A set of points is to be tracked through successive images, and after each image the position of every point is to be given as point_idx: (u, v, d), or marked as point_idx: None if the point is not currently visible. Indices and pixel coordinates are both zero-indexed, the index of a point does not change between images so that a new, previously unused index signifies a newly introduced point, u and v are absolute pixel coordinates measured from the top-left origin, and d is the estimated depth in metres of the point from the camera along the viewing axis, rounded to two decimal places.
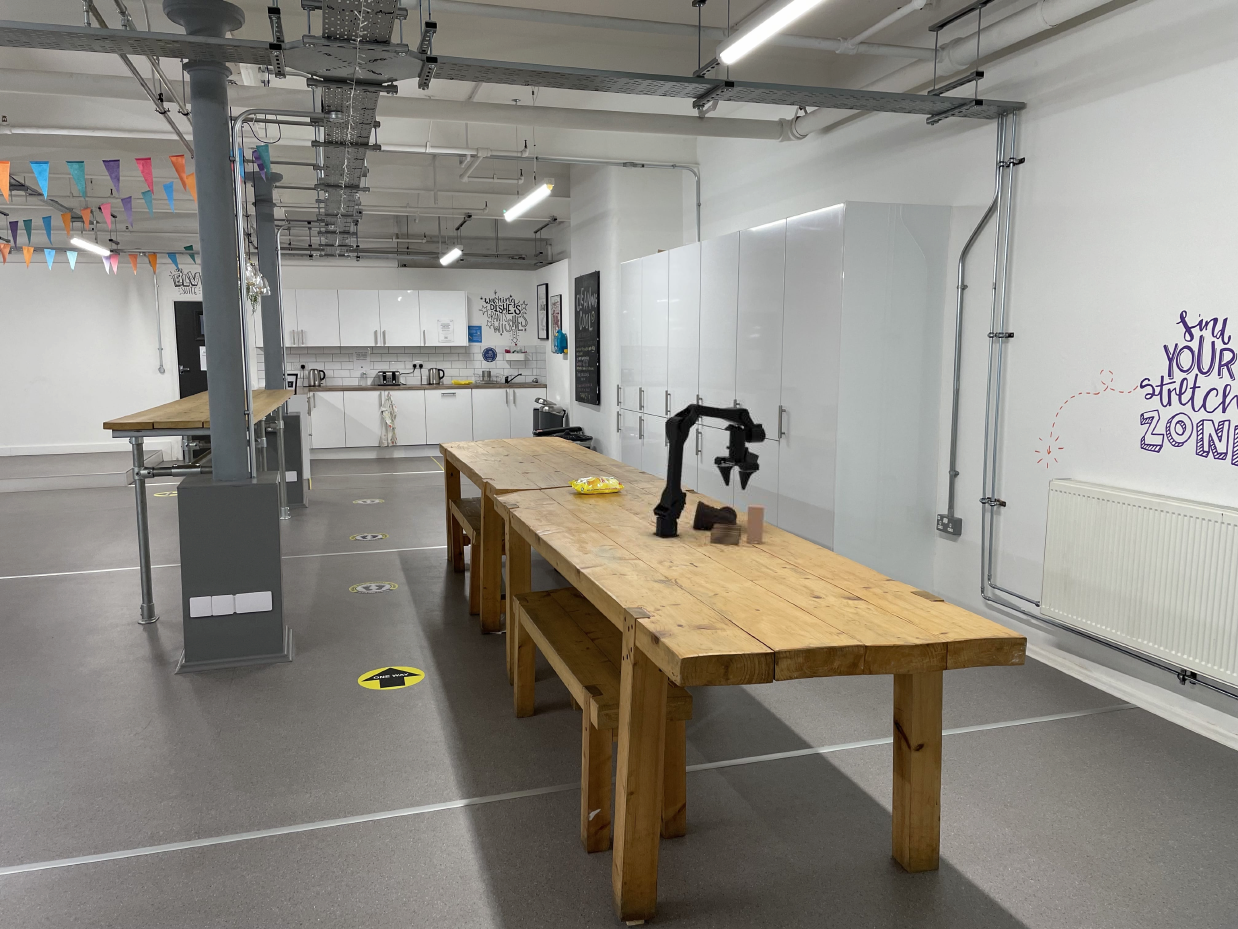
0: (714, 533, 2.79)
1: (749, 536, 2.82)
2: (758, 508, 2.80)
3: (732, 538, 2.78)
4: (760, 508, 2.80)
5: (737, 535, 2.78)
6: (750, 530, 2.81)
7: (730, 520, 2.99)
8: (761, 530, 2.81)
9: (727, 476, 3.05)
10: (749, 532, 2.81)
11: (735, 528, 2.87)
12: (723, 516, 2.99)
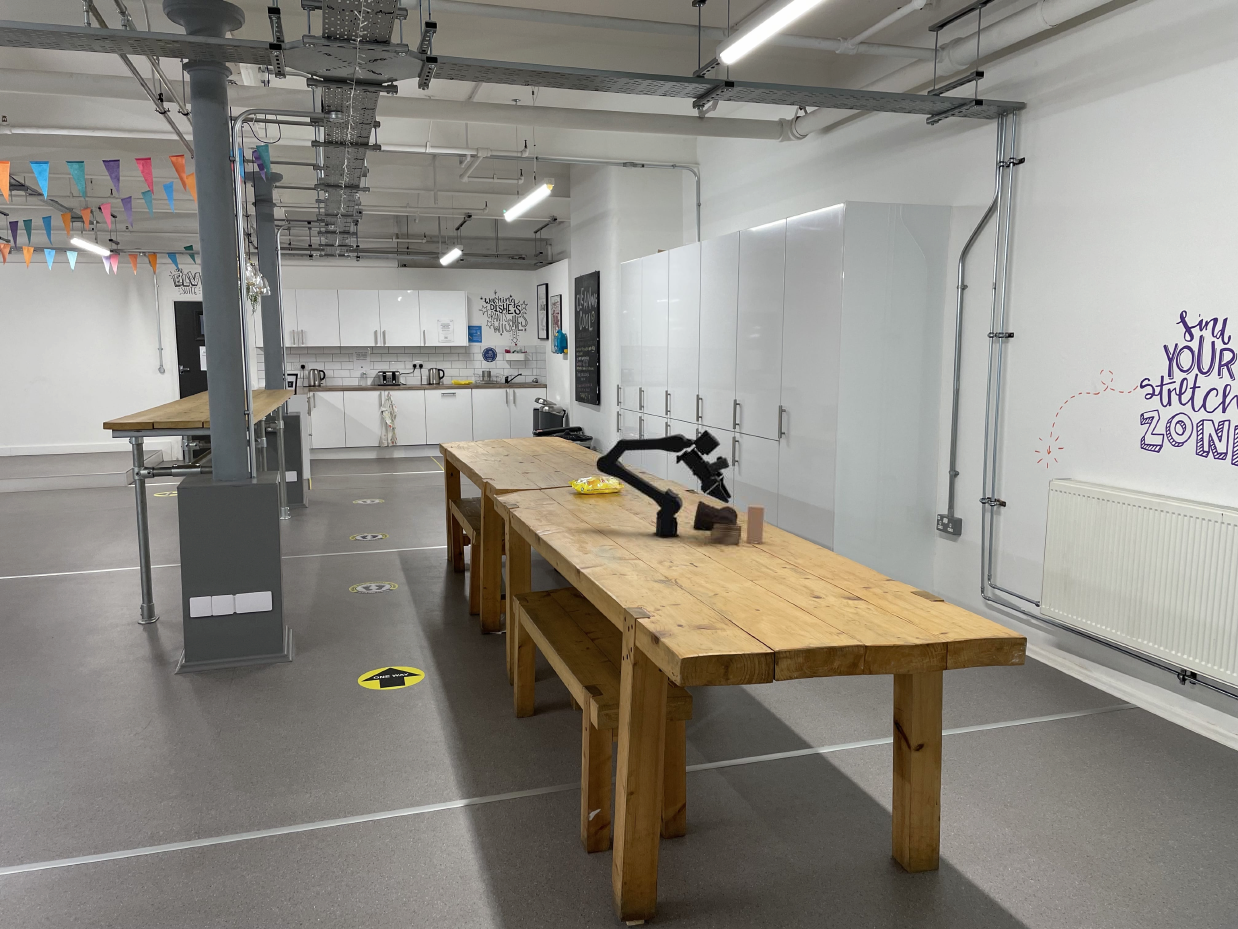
0: (714, 533, 2.79)
1: (749, 536, 2.82)
2: (758, 508, 2.80)
3: (732, 538, 2.78)
4: (760, 508, 2.80)
5: (737, 535, 2.78)
6: (750, 530, 2.81)
7: (730, 520, 2.99)
8: (761, 530, 2.81)
9: (723, 490, 2.88)
10: (749, 532, 2.81)
11: (735, 528, 2.87)
12: (723, 516, 2.99)
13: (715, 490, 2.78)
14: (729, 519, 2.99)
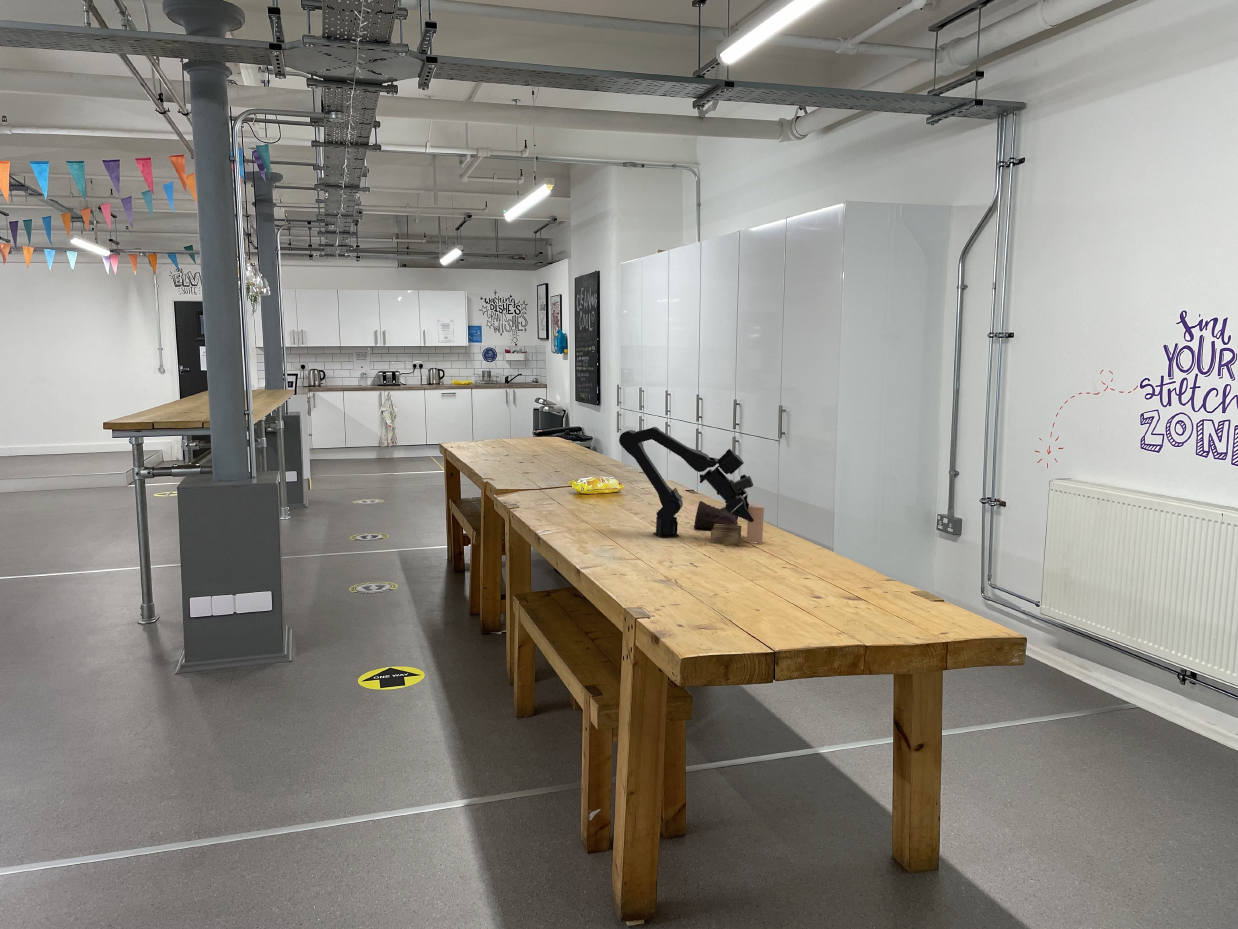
0: (714, 533, 2.79)
1: (749, 536, 2.82)
2: (758, 508, 2.80)
3: (732, 538, 2.78)
4: (760, 508, 2.80)
5: (737, 535, 2.78)
6: (750, 530, 2.81)
7: (731, 520, 2.99)
8: (761, 530, 2.81)
9: (747, 508, 2.87)
10: (749, 532, 2.81)
11: (735, 528, 2.87)
12: (724, 516, 2.99)
13: (740, 509, 2.77)
14: (730, 519, 2.99)
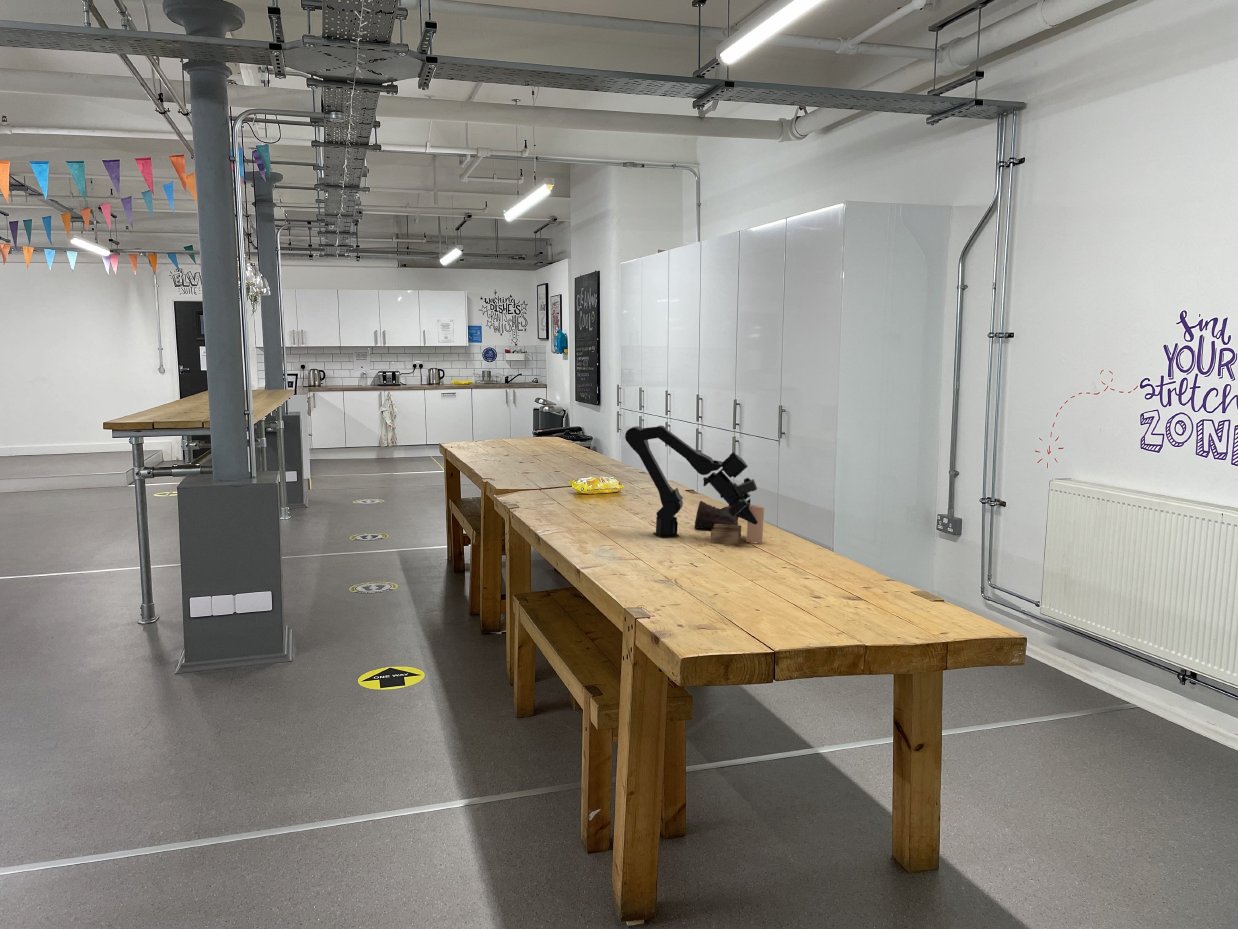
0: (714, 533, 2.79)
1: (749, 536, 2.82)
2: (758, 508, 2.80)
3: (732, 538, 2.78)
4: (760, 508, 2.80)
5: (737, 535, 2.78)
6: (750, 530, 2.81)
7: (731, 520, 2.99)
8: (761, 530, 2.81)
9: None
10: (749, 532, 2.81)
11: (735, 528, 2.87)
12: (724, 516, 2.99)
13: (744, 511, 2.80)
14: (730, 519, 2.99)
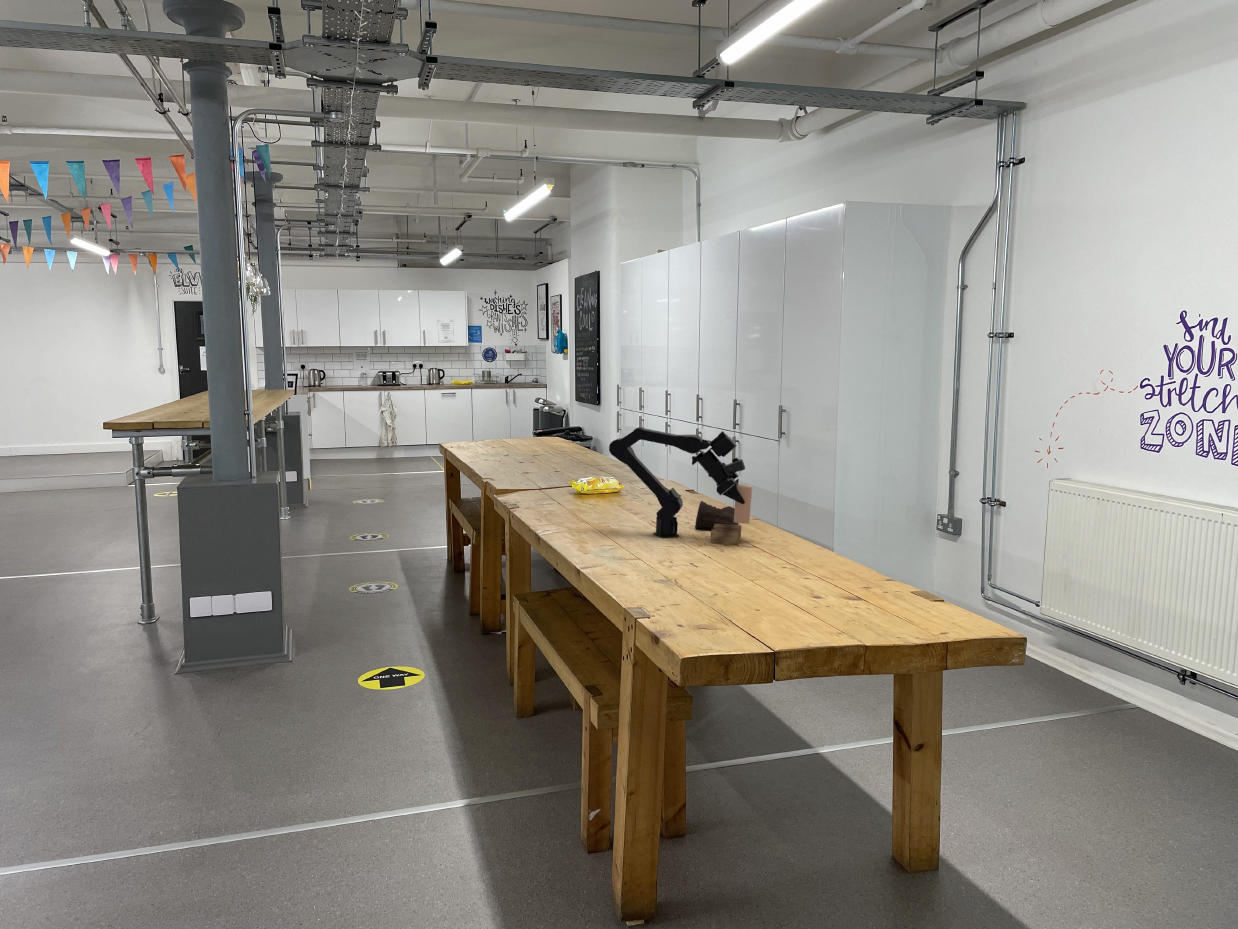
0: (714, 533, 2.79)
1: (736, 516, 2.82)
2: (746, 488, 2.80)
3: (732, 538, 2.78)
4: (748, 487, 2.80)
5: (737, 535, 2.78)
6: (737, 510, 2.81)
7: (732, 520, 2.99)
8: (748, 510, 2.81)
9: None
10: (737, 511, 2.81)
11: (735, 528, 2.87)
12: (725, 516, 2.99)
13: (731, 491, 2.80)
14: (731, 519, 2.99)
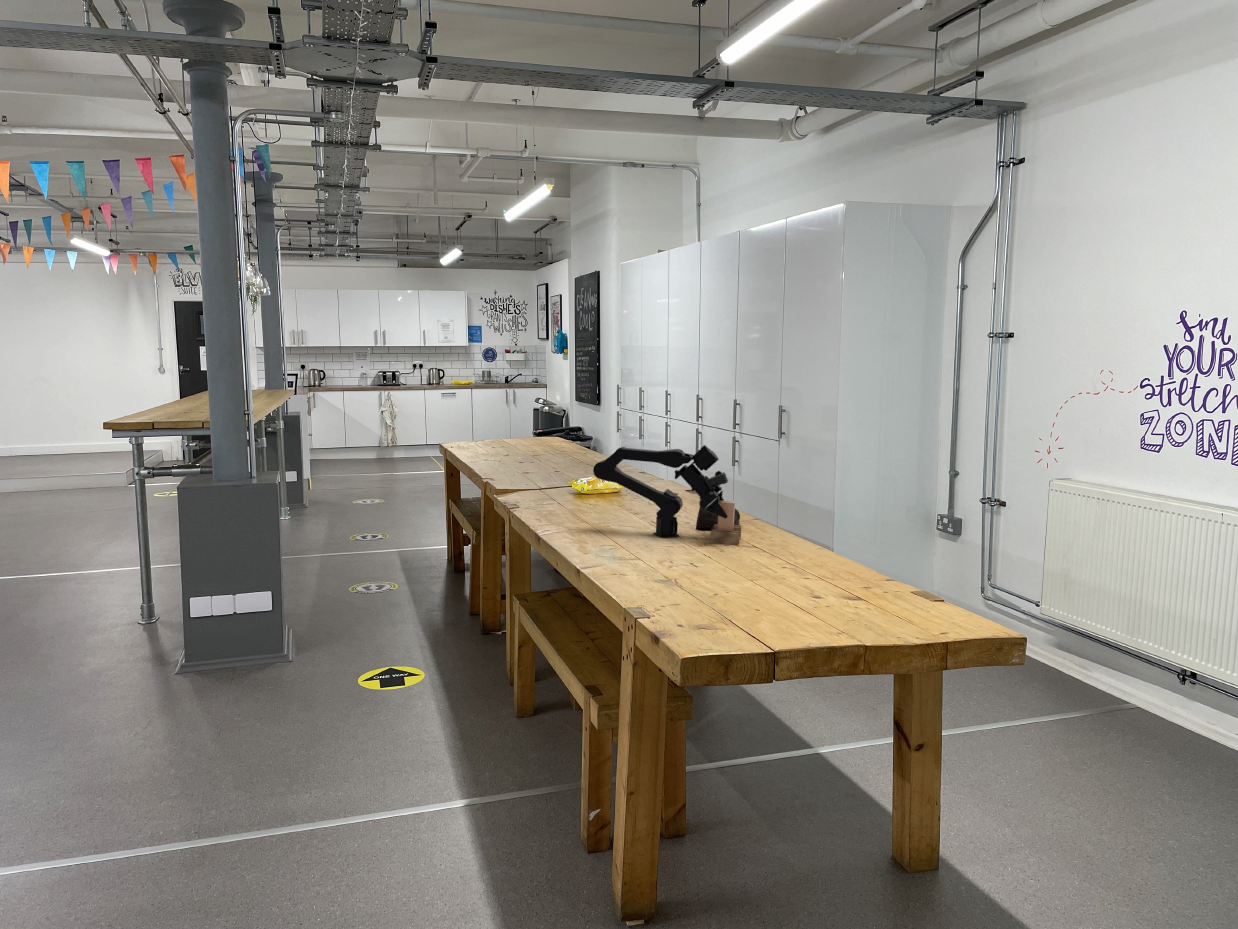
0: (714, 533, 2.79)
1: None
2: (728, 504, 2.82)
3: (732, 538, 2.78)
4: (731, 503, 2.82)
5: (737, 535, 2.78)
6: (721, 526, 2.83)
7: None
8: (731, 525, 2.82)
9: None
10: (720, 527, 2.83)
11: (735, 528, 2.87)
12: None
13: (714, 505, 2.79)
14: None
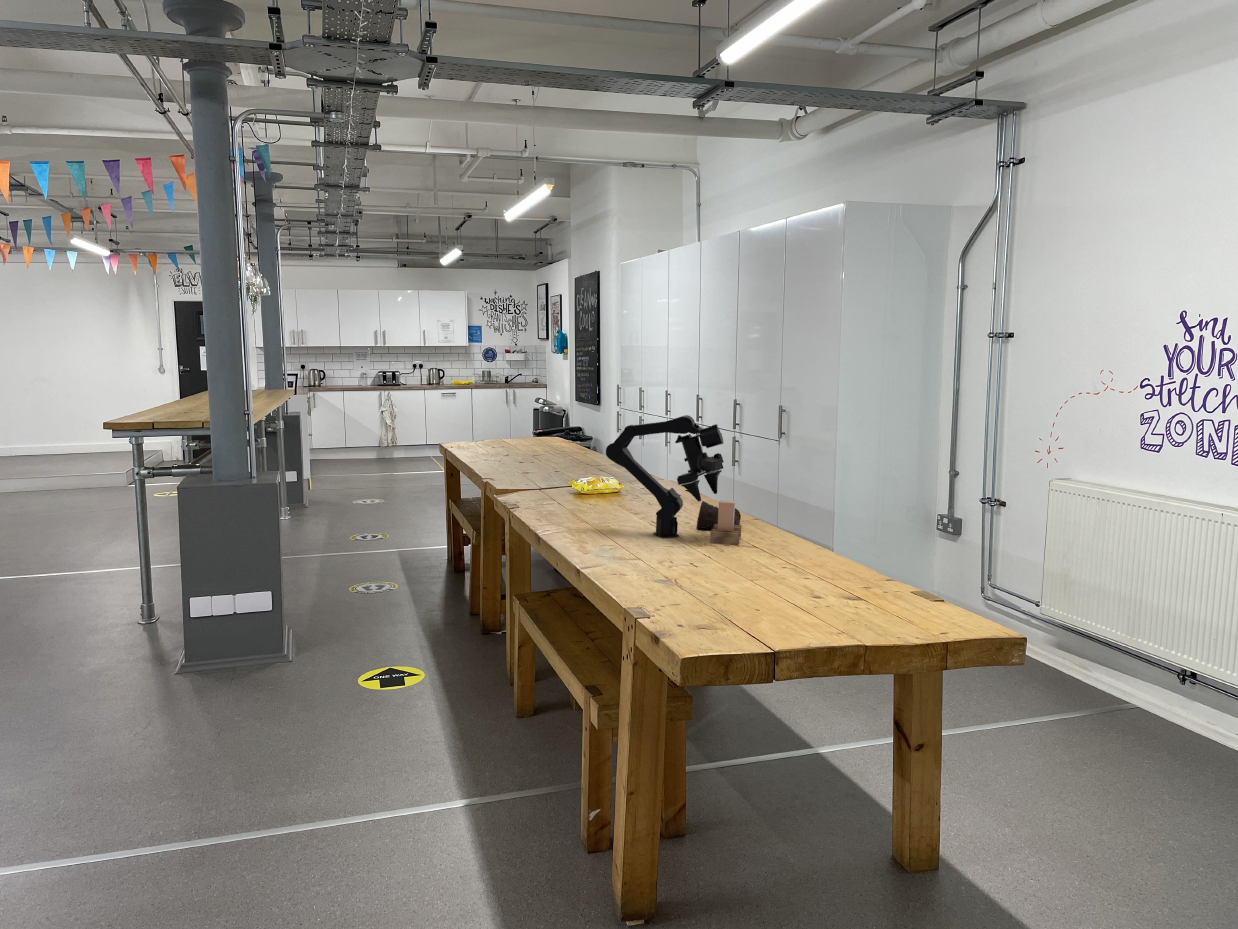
0: (714, 533, 2.79)
1: None
2: (728, 504, 2.82)
3: (732, 538, 2.78)
4: (731, 503, 2.82)
5: (737, 535, 2.78)
6: (721, 526, 2.83)
7: None
8: (731, 525, 2.82)
9: (712, 483, 2.88)
10: (720, 527, 2.83)
11: (735, 528, 2.87)
12: None
13: (692, 485, 2.80)
14: None
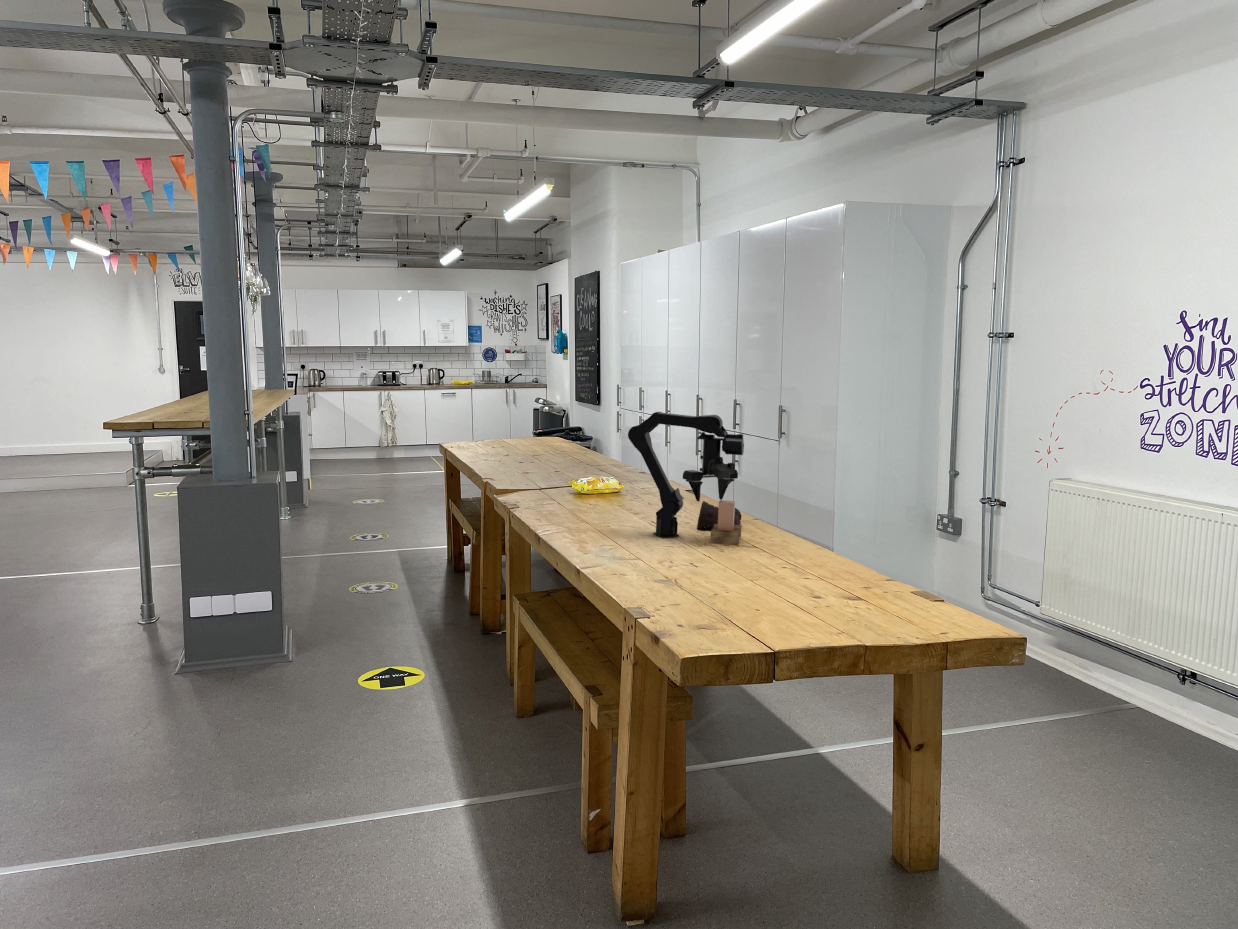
0: (714, 533, 2.79)
1: None
2: (728, 504, 2.82)
3: (732, 538, 2.78)
4: (731, 503, 2.82)
5: (737, 535, 2.78)
6: (721, 526, 2.83)
7: (734, 520, 2.98)
8: (731, 525, 2.82)
9: (721, 489, 2.86)
10: (720, 527, 2.83)
11: (735, 528, 2.87)
12: None
13: (695, 484, 2.81)
14: None
